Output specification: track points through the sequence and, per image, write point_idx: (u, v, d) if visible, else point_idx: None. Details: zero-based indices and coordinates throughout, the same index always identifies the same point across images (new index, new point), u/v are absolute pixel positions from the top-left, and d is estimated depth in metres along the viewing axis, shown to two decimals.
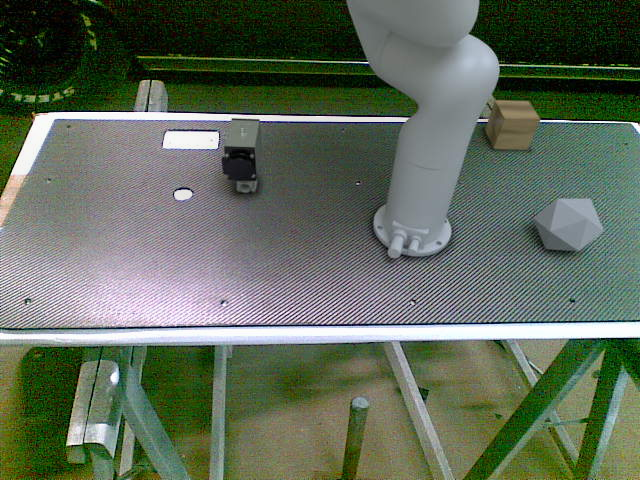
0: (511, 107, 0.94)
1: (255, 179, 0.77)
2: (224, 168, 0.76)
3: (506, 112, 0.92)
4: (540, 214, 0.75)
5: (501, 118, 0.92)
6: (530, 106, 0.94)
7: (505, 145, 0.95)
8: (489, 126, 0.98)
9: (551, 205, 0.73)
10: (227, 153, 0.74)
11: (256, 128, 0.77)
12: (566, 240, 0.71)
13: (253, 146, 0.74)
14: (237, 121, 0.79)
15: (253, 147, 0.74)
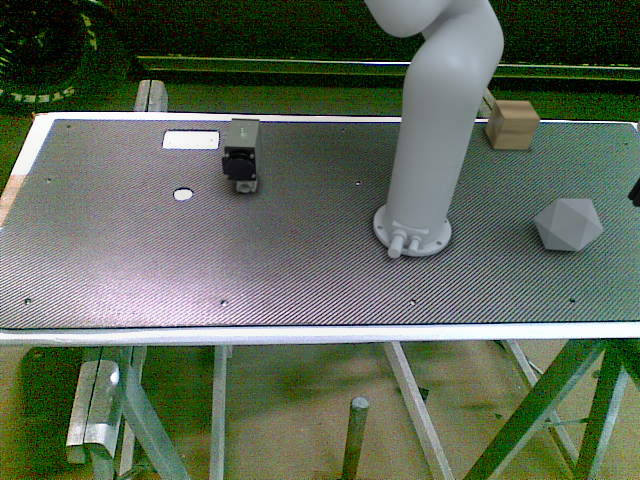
0: (511, 107, 0.94)
1: (255, 179, 0.77)
2: (224, 168, 0.76)
3: (506, 112, 0.92)
4: (540, 214, 0.75)
5: (501, 118, 0.92)
6: (530, 106, 0.94)
7: (505, 145, 0.95)
8: (489, 126, 0.98)
9: (551, 205, 0.73)
10: (227, 153, 0.74)
11: (256, 128, 0.77)
12: (566, 240, 0.71)
13: (253, 146, 0.74)
14: (237, 121, 0.79)
15: (253, 147, 0.74)
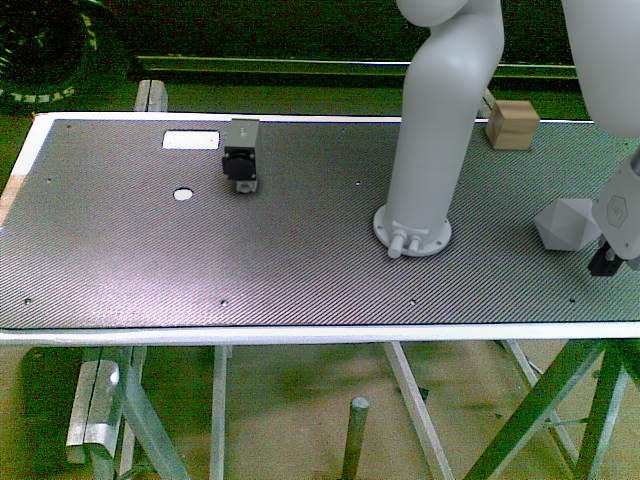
0: (511, 107, 0.94)
1: (255, 179, 0.77)
2: (224, 168, 0.76)
3: (506, 112, 0.92)
4: (540, 214, 0.75)
5: (501, 118, 0.92)
6: (530, 106, 0.94)
7: (505, 145, 0.95)
8: (489, 126, 0.98)
9: (551, 205, 0.73)
10: (227, 153, 0.74)
11: (256, 128, 0.77)
12: (566, 240, 0.71)
13: (253, 146, 0.74)
14: (237, 121, 0.79)
15: (253, 147, 0.74)
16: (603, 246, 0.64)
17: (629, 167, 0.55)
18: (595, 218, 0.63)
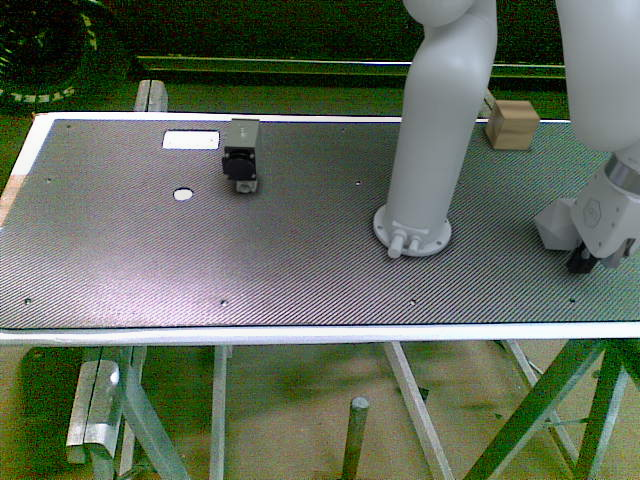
0: (511, 107, 0.94)
1: (255, 179, 0.77)
2: (224, 168, 0.76)
3: (506, 112, 0.92)
4: (540, 214, 0.75)
5: (501, 118, 0.92)
6: (530, 106, 0.94)
7: (505, 145, 0.95)
8: (489, 126, 0.98)
9: (551, 205, 0.73)
10: (227, 153, 0.74)
11: (256, 128, 0.77)
12: (566, 240, 0.71)
13: (253, 146, 0.74)
14: (237, 121, 0.79)
15: (253, 147, 0.74)
16: (580, 245, 0.69)
17: (603, 172, 0.60)
18: (573, 219, 0.68)
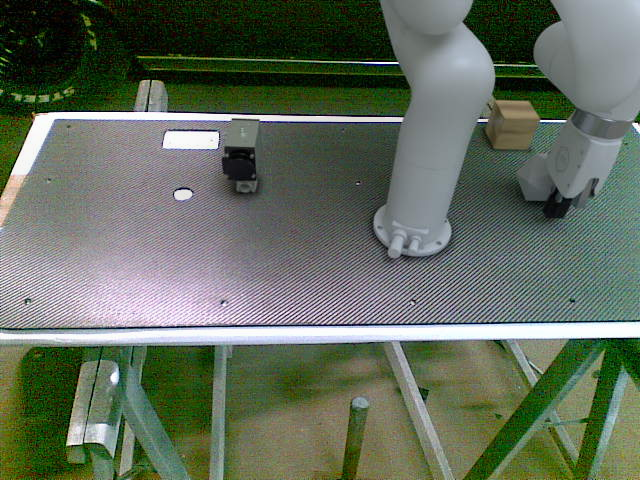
0: (511, 107, 0.94)
1: (255, 179, 0.77)
2: (224, 168, 0.76)
3: (506, 112, 0.92)
4: (521, 168, 0.84)
5: (501, 118, 0.92)
6: (530, 106, 0.94)
7: (505, 145, 0.95)
8: (489, 126, 0.98)
9: (530, 159, 0.82)
10: (227, 153, 0.74)
11: (256, 128, 0.77)
12: (542, 190, 0.80)
13: (253, 146, 0.74)
14: (237, 121, 0.79)
15: (253, 147, 0.74)
16: (554, 191, 0.77)
17: (570, 121, 0.68)
18: (547, 167, 0.76)
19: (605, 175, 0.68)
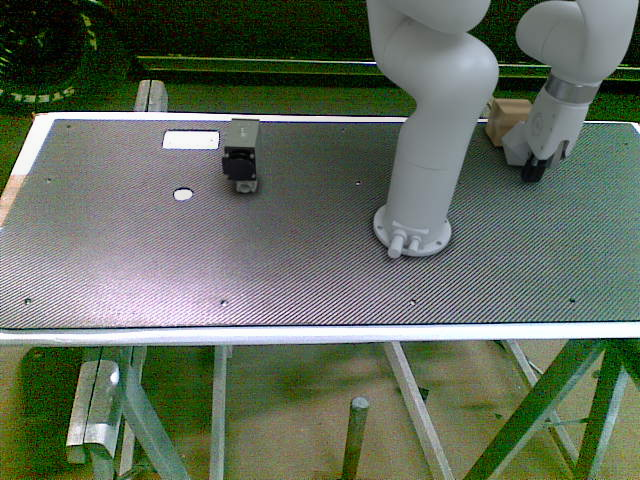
0: (511, 104, 0.94)
1: (255, 179, 0.77)
2: (224, 168, 0.76)
3: (506, 108, 0.92)
4: (506, 134, 0.91)
5: (501, 113, 0.92)
6: (529, 103, 0.95)
7: None
8: (489, 125, 0.98)
9: (514, 126, 0.89)
10: (227, 153, 0.74)
11: (256, 128, 0.77)
12: (521, 156, 0.87)
13: (253, 146, 0.74)
14: (237, 121, 0.79)
15: (253, 147, 0.74)
16: (530, 156, 0.84)
17: (543, 88, 0.76)
18: (524, 134, 0.83)
19: (574, 137, 0.75)
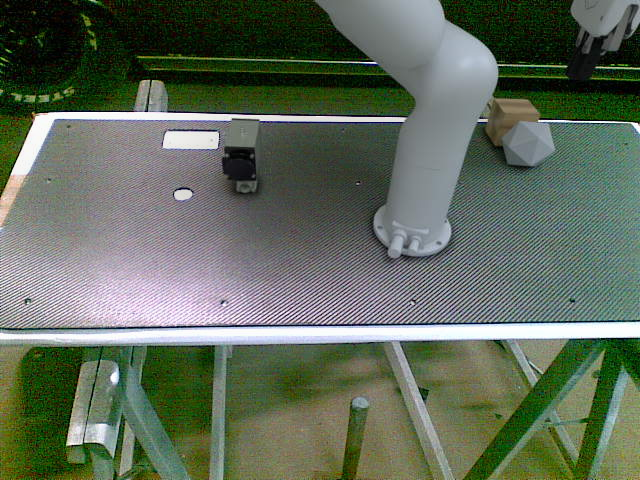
0: (511, 104, 0.94)
1: (255, 179, 0.77)
2: (224, 168, 0.76)
3: (506, 108, 0.92)
4: (506, 134, 0.91)
5: (502, 113, 0.92)
6: (529, 103, 0.95)
7: None
8: (489, 125, 0.98)
9: (514, 126, 0.89)
10: (227, 153, 0.74)
11: (256, 128, 0.77)
12: (521, 156, 0.87)
13: (253, 146, 0.74)
14: (237, 121, 0.79)
15: (253, 147, 0.74)
16: (580, 44, 0.67)
17: None
18: (574, 14, 0.66)
19: None
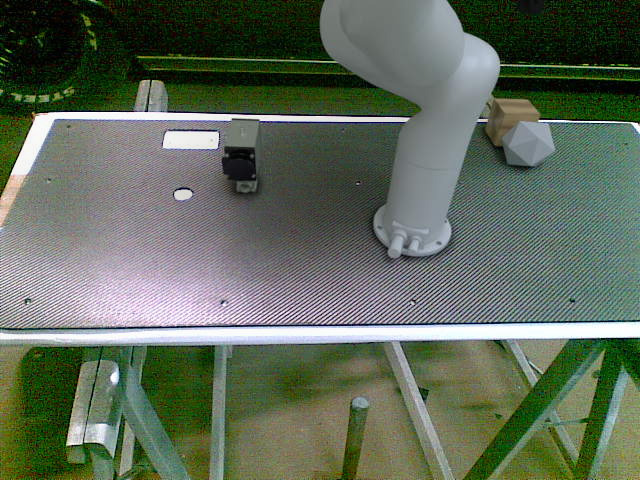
0: (511, 104, 0.94)
1: (255, 179, 0.77)
2: (224, 168, 0.76)
3: (506, 108, 0.92)
4: (506, 134, 0.91)
5: (502, 113, 0.92)
6: (529, 103, 0.95)
7: None
8: (489, 125, 0.98)
9: (514, 126, 0.89)
10: (227, 153, 0.74)
11: (256, 128, 0.77)
12: (521, 156, 0.87)
13: (253, 146, 0.74)
14: (237, 121, 0.79)
15: (253, 147, 0.74)
16: None
17: None
18: None
19: None
